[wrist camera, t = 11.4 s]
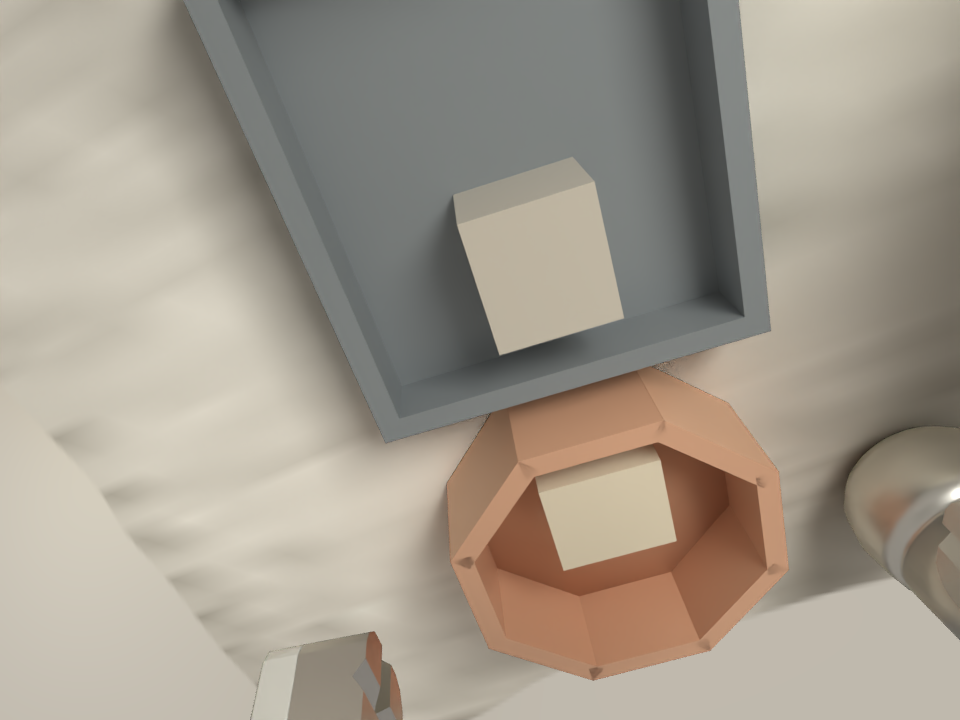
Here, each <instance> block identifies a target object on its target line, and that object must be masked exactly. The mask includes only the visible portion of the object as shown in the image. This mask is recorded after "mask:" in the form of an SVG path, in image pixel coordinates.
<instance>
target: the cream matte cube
mask: <svg viewBox="0 0 960 720" xmlns="http://www.w3.org/2000/svg"><path fill="white" fill-rule="evenodd" d="M453 199H454V207H455V214H456V222H457V227H458V230H459V233H460V236H461V239H462V242H463V245H464V248H465V251H466V254H467V257H468V260H469V263H470V266H471V269H472V272H473V275H474V279H475V282H476V285H477V288H478V291H479V294H480V297H481V300H482V303H483V306H484V309H485V312H486V315H487V318H488V321H489V324H490V327H491V330H492V334H493V337H494V340H495V343H496V346H497V349H498V352H499V355H502V354H506V353H509V352H513V351H516V350H519V349H523V348H526V347H529V346H533V345H536V344H539V343H543V342H546V341H549V340H553V339H556V338H559V337H563V336H566V335H570V334H573V333H576V332H580V331H583V330H586V329H590V328H593V327H596V326H600V325H603V324H606V323H610V322H613V321H617V320H620V319H623V318H624V315H623V311H622V306H621V301H620V297H619V292H618V288H617V283H616V278H615V274H614V269H613V265H612V260H611V255H610V251H609V246H608V241H607V237H606V232H605V228H604V223H603V218H602V214H601V209H600V204H599V200H598V195H597V191H596V186H595V181H594V180H593V179H592V178H591V177H590V176H589V175H588V174H587V172H586V171H585V170H584V169H583V168H582V167H581V166H580V164H579V163H578V162H577V161H576V160H575V159H574V158H573V157H570V158H567V159H564V160H561V161H558V162H554V163H551V164H548V165H545V166H542V167H539V168H536V169H533V170H529V171H526V172H523V173H520V174H517V175H514V176H511V177H507V178H504V179H501V180H498V181H495V182H492V183H489V184H486V185H482V186H479V187H476V188H473V189H470V190H467V191H464V192H461V193H457V194H454V195H453Z"/></svg>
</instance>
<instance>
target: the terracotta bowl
mask: <svg viewBox="0 0 960 720" xmlns="http://www.w3.org/2000/svg"><path fill="white" fill-rule="evenodd" d="M649 444H653V446H654V448H655V450H656V452H657V454H658V456H659V458H660V460H661V465H662V470H663V475H664V480H665V485H666V490H667V495H668V500H669V505H670V510H671V515H672V520H673V525H674V530H675V535H676V540H677V541H675V542H671V543H668V544H664V545H660V546H656V547H652V548H649V549H645V550H641V551H637V552H633V553H630V554H626V555H622V556H618V557H614V558H611V559H607V560H603V561H599V562H595V563H592V564H588V565H584V566H580V567H576V568H573V569H569V570H565V571H564V570H563V567H562V564H561V561H560V558H559V555H558V552H557V549H556V545H555V542H554V539H553V536H552V533H551V530H550V527H549V524H548V521H547V518H546V514H545V511H544V508H543V505H542V502H541V499H540V496H539V493H538V488H537V484H536V479H535V477H536V476H540V475H543V474H547V473H550V472H554V471H557V470H561V469H564V468H568V467H571V466H575V465H579V464H582V463H586V462H589V461H593V460H596V459H600V458H603V457H607V456H610V455H614V454H618V453H621V452H625V451H628V450H632V449H635V448H639V447H642V446H646V445H649ZM447 499H448V523H449V546H450V563H451V565H452V567H453V569H454V571H455V574H456V576H457V578H458V580H459V583H460V585H461V587H462V589H463V592H464V594H465V596H466V598H467V601H468V603H469V605H470V607H471V609H472V612H473V614H474V616H475V618H476V621H477V623H478V625H479V627H480V630H481V632H482V634H483V636H484V639H485V641H486V643H487V645H488V648H489V649H492V650H495V651H498V652H502V653H505V654H508V655H511V656H515V657H518V658H521V659H524V660H528V661H531V662H534V663H538V664H541V665H544V666H547V667H551V668H554V669H557V670H560V671H564V672H567V673H571V674H574V675H577V676H580V677H583V678H587V679H590V680H597V679H601V678H605V677H609V676H613V675H617V674H621V673H625V672H628V671H632V670H636V669H640V668H644V667H648V666H652V665H656V664H660V663H664V662H668V661H671V660H675V659H679V658H683V657H687V656H691V655H694V654H699V653H703V652H707V651H710V650H711V649H712V648H713V647H714V646H715V645H716V644H717V643H718V642H719V641H720V640H721V639H722V638H723V637H724V636H725V635H726V634H727V633H728V632H729V631H730V630H731V629H732V628H733V627H734V626H735V625H736V624H737V623H738V622H739V621H740V620H741V618H742V617H743V616H744V615H745V614H746V613H747V612H748V611H749V610H750V609H751V608H752V607H753V606H754V605H755V604H756V603H757V602H758V601H759V600H760V599H761V598H762V597H763V596H764V595H765V594H766V593H767V592H768V591H769V590H770V589H771V588H772V587H773V586H774V585H775V584H776V583H777V582H778V580H779V579H780V578H781V577H782V576H783V575H784V574H785V573H786V572H787V571H788V570H789V566H788V557H787V547H786V537H785V528H784V518H783V508H782V499H781V489H780V479H779V471H778V470H777V469H776V467H775V466H774V465H773V463H772V462H771V460H770V459H769V458H768V456H767V455H766V454H765V452H764V451H763V450H762V448H761V447H760V445H759V444H758V443H757V441H756V440H755V439H754V437H753V436H752V435H751V433H750V432H749V431H748V429H747V428H746V426H745V425H744V424H743V422H742V421H741V420H740V418H739V417H738V416H737V414H736V413H735V411H734V410H733V409H732V407H731V406H730V405H729V403H727V402H725V401H723V400H721V399H718V398H716V397H714V396H712V395H710V394H708V393H706V392H704V391H702V390H700V389H697V388H695V387H693V386H691V385H689V384H687V383H685V382H683V381H681V380H678V379H676V378H674V377H672V376H670V375H668V374H666V373H664V372H662V371H660V370H657V369H655V368H653V367H651V366H649V367H646V368H642V369H639V370H635V371H632V372H629V373H625V374H622V375H618V376H615V377H611V378H608V379H604V380H601V381H598V382H594V383H591V384H587V385H584V386H580V387H577V388H574V389H570V390H567V391H563V392H560V393H556V394H553V395H550V396H546V397H543V398H539V399H536V400H532V401H529V402H526V403H522V404H519V405H515V406H512V407H508V408H505V409H502V410H498V411H495V412H492V413H491V414H490V416H489V417H488V419H487V421H486V422H485V424H484V425H483V427H482V428H481V430H480V432H479V433H478V435H477V436H476V438H475V440H474V441H473V443H472V444H471V446H470V447H469V449H468V451H467V452H466V454H465V455H464V457H463V459H462V460H461V462H460V463H459V465H458V466H457V468H456V470H455V471H454V473H453V474H452V476H451V478H450V479H449V481H448V482H447Z"/></svg>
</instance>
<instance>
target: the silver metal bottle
mask: <svg viewBox="0 0 960 720" xmlns="http://www.w3.org/2000/svg"><path fill="white" fill-rule="evenodd" d="M957 501H960V428H954V427H941V426H924V427H916V428H912V429H907V430H904V431H902V432H899V433H896V434H894V435H892V436H890V437H888V438H886V439H884V440H882V441H881V442H879V443H878V444H876V445H875V446H873V447H872V448H871V449H870V450H868V451H867V452H866V453H865V454H864V455H863V456H862V457H861V458H860V459H859V461H858V462H857V463H856V464H855V466H854V467H853V469H852V471H851V473H850V474H849V476H848V480H847V483H846V488H845V498H844V510H845V514H846V518H847V520H848V522H849V524H850V525H851V527H852V529H853V531H854V533H855V535H856V537H857V539H858V541H859V542H860V544H861V546H862V547H863V549H864V550H865V551H866V552H867V553H868V554H869V555H870V556H871V557H872V558H873V559H874V560H875V561H876V562H877V563H878V564H879V565H881V566H882V567H883V568H884V569H885V570H886V571H887V572H888V573H889V574H890V575H891V576H893V577H894V578H895V579H896V580H897V581H899V582H900V583H901V584H903V585H904V586H905V587H906V588H908V589H909V590H911V591H912V592H914V594H915V595H916V596H917V597H918V598H919V599H920V600H921V601H922V602H923V603H924V604H925V605H926V606H927V607H928V608H929V609H930V610H931V611H932V612H933V613H934V614H935V615H936V616H937V617H938V618H939V619H940V620H941V621H942V622H943V623H944V625H945V626H946V627H947V628H948V629H950V631H951V632H952V633H953V634H954V635H955V636H956V637H957V638H958V639H959V640H960V609H959V608H958V606H957V605H956V604H955V603H954V601H953V600H952V599H951V598H950V596H949V595H948V593H947V591H946V589H945V588H944V586H943V584H942V582H941V579H940V576H939V572H938V569H937V565H936V558H937V550H938V545H939V544H940V543H941V542H942V541H943V540H944V539H945V538H946V537H947V536H948V535H949V534H950V533H951V532H950V531H949V530H948V529H947V528H946V527H945V526H944V525H943V523H942V522H943V517H944V512H945V509H946V508H947V507H948V506H949V505H950V504H951V503H953V502H957Z"/></svg>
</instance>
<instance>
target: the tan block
mask: <svg viewBox="0 0 960 720" xmlns="http://www.w3.org/2000/svg"><path fill="white" fill-rule="evenodd" d="M535 479H536V484H537V488H538V493H539V496H540V499H541V502H542V505H543V508H544V511H545V514H546V518H547V521H548V524H549V527H550V530H551V533H552V536H553V539H554V542H555V545H556V549H557V552H558V555H559V558H560V561H561V564H562V567H563V570H564V571H565V570H569V569H573V568H576V567H580V566H584V565H588V564H592V563H595V562H599V561H603V560H607V559H611V558H614V557H618V556H622V555H626V554H630V553H633V552H637V551H641V550H645V549H649V548H652V547H656V546H660V545H664V544H668V543H671V542H675V541H677V540H676V535H675V530H674V525H673V520H672V515H671V510H670V505H669V500H668V495H667V490H666V485H665V480H664V475H663V470H662V465H661V460H660V458H659V456H658V454H657V452H656V450H655V448H654V446H653V444H649V445H646V446H642V447H639V448H635V449H632V450H628V451H625V452H621V453H618V454H614V455H610V456H607V457H603V458H600V459H596V460H593V461H589V462H586V463H582V464H579V465H575V466H571V467H568V468H564V469H561V470H557V471H554V472H550V473H547V474H543V475H540V476H536V477H535Z"/></svg>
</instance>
